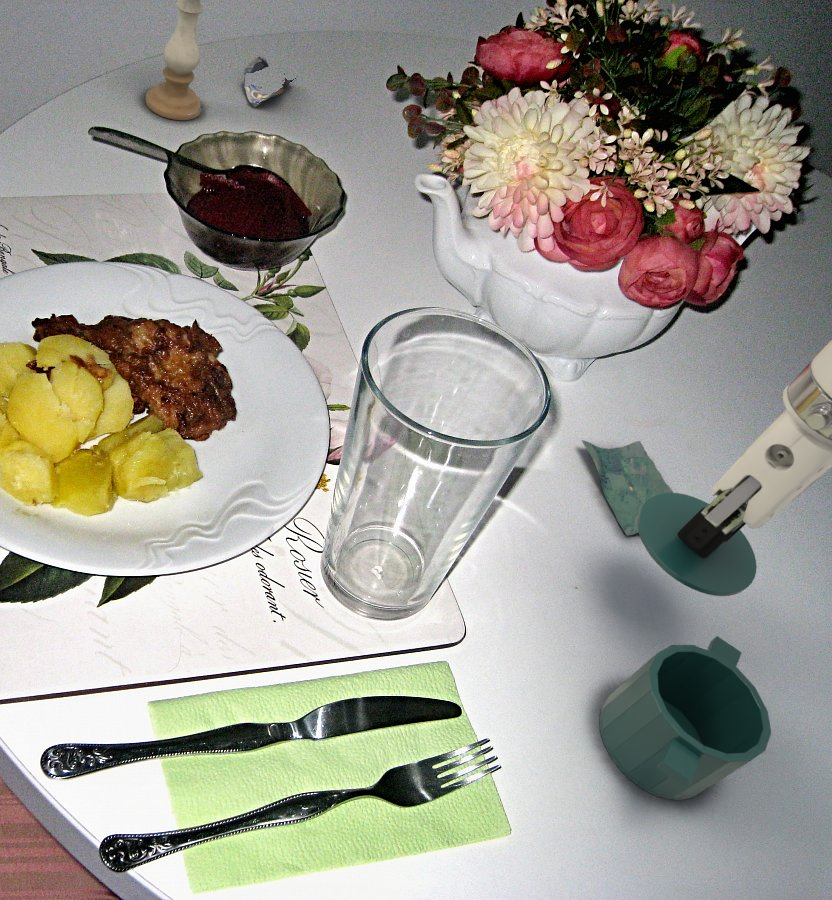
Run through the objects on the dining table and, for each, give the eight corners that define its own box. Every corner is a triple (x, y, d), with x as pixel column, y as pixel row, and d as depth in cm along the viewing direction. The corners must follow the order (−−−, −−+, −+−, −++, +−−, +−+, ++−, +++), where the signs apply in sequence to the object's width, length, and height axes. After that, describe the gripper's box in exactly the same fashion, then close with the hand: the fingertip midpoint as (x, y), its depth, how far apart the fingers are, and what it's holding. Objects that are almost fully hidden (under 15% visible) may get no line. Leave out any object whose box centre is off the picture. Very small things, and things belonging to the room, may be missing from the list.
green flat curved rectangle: (684, 534, 99) (694, 524, 98) (623, 538, 97) (632, 527, 96) (632, 447, 107) (640, 436, 106) (575, 449, 105) (582, 438, 104)
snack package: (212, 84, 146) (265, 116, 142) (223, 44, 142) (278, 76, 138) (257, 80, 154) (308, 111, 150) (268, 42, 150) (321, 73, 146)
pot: (730, 719, 84) (789, 677, 78) (680, 850, 75) (744, 814, 68) (631, 649, 87) (681, 604, 81) (571, 766, 78) (622, 725, 71)
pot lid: (761, 549, 87) (808, 508, 82) (730, 623, 80) (779, 583, 75) (655, 480, 90) (694, 437, 85) (616, 546, 83) (656, 503, 78)
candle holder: (178, 87, 142) (201, -48, 128) (212, 115, 139) (239, -20, 124) (133, 96, 138) (151, -43, 123) (167, 125, 134) (190, -14, 119)
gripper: (837, 475, 64) (688, 606, 78) (925, 403, 73) (776, 532, 86) (750, 406, 68) (621, 543, 81) (843, 344, 76) (713, 478, 90)
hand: (702, 536), depth 84 cm, fingers closed on pot lid, 3 cm apart
